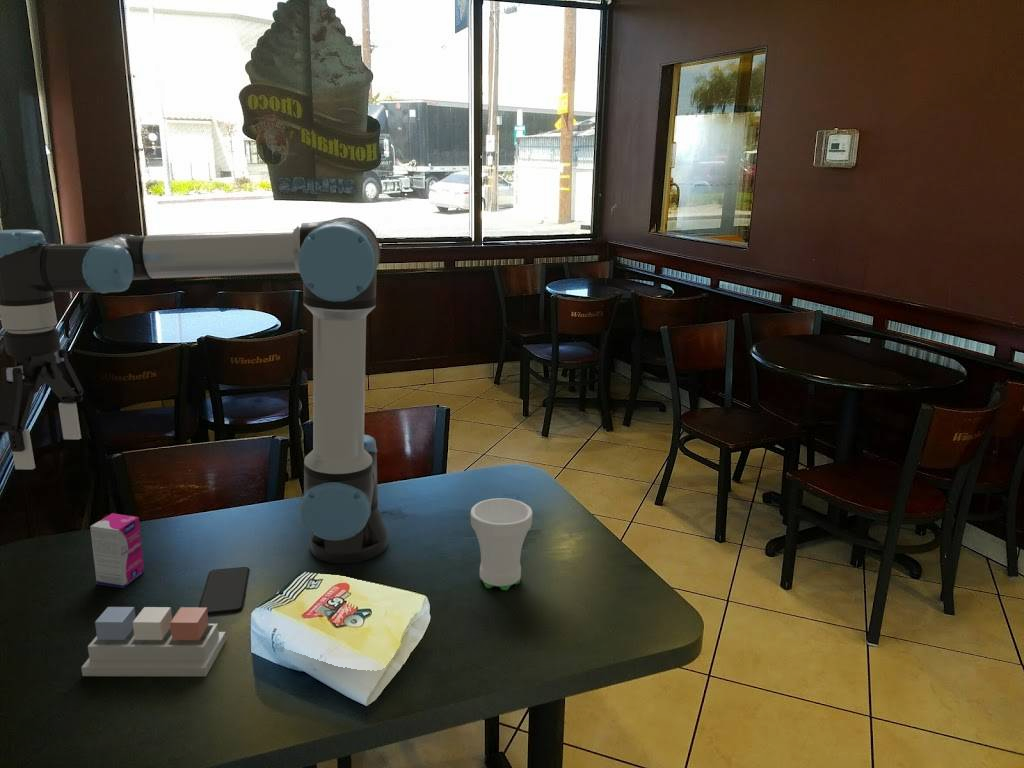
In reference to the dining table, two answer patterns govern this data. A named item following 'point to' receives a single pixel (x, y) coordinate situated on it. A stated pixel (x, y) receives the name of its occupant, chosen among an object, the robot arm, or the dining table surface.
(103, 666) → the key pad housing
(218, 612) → the smartphone
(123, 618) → the blue key
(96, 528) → the supplement box
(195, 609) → the red key
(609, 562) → the dining table surface
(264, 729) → the dining table surface
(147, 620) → the white key
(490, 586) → the cup
